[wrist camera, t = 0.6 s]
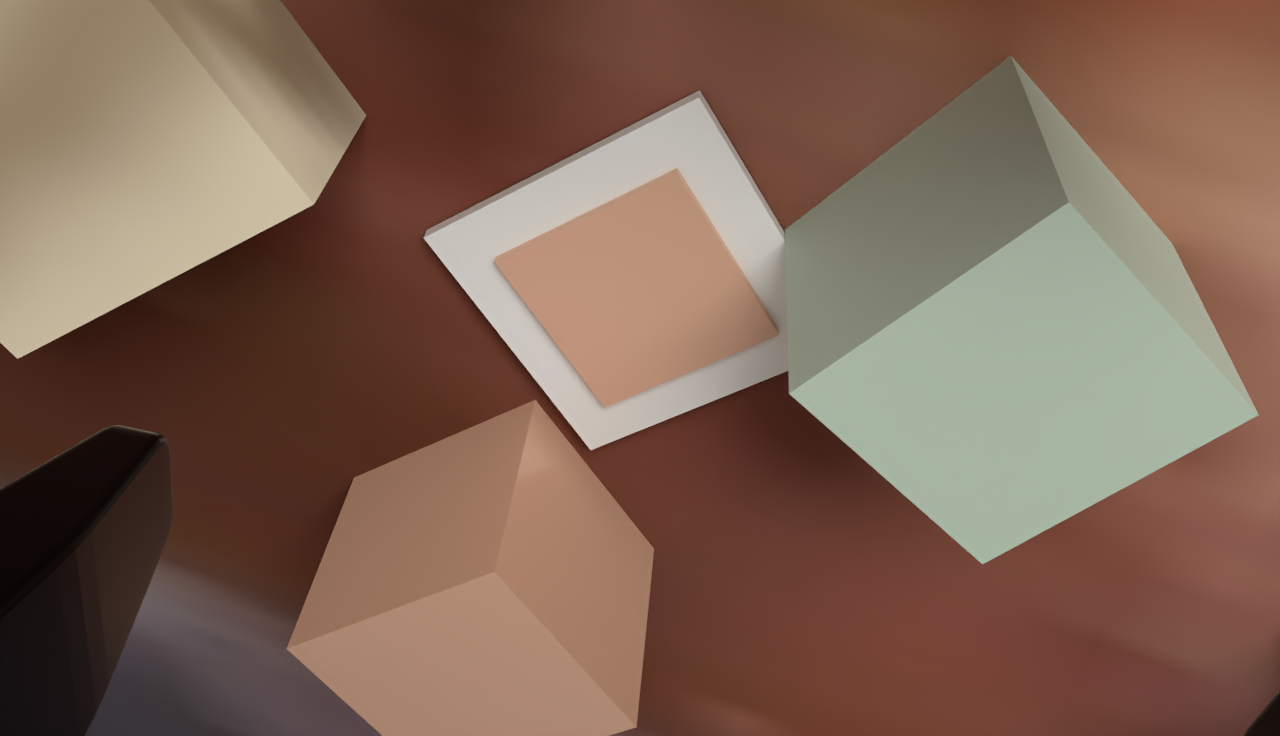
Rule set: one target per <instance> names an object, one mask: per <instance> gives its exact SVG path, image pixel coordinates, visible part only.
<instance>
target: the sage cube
mask: <svg viewBox="0 0 1280 736" xmlns="http://www.w3.org/2000/svg"><path fill="white" fill-rule="evenodd" d="M785 256H786V296H787V336H788V376H789V394H790V395H791V396H792V397H793V398H794V399H796V400H797V401H798V402H799V403H800V404H801V405H802V406H804V407H805V408H806V409H807V410H808V411H809V412H810V413H811V414H813V415H814V416H815V417H816V418H817V419H818V420H819V421H821V422H822V423H823V424H824V425H825V426H826V427H827V428H828V429H830V430H831V431H832V432H833V433H834V434H835V435H836V436H838V437H839V438H840V439H841V440H842V441H843V442H844V443H846V444H847V445H848V446H849V447H850V448H851V449H852V450H853V451H855V452H856V453H857V454H858V455H859V456H860V457H861V458H863V459H864V460H865V461H866V462H867V463H868V464H869V465H870V466H872V467H873V468H874V469H875V470H876V471H877V472H878V473H880V474H881V475H882V476H883V477H884V478H885V479H886V480H887V481H889V482H890V483H891V484H892V485H893V486H894V487H895V488H897V489H898V490H899V491H900V492H901V493H902V494H903V495H905V496H906V497H907V498H908V499H909V500H910V501H911V502H912V503H914V504H915V505H916V506H917V507H918V508H919V509H920V510H922V511H923V512H924V513H925V514H926V515H927V516H928V517H929V518H931V519H932V520H933V521H934V522H935V523H936V524H937V525H939V526H940V527H941V528H942V529H943V530H944V531H945V532H946V533H948V534H949V535H950V536H951V537H952V538H953V539H954V540H956V541H957V542H958V543H959V544H960V545H961V546H962V547H964V548H965V549H966V550H967V551H968V552H969V553H970V554H971V555H973V556H974V557H975V558H976V559H977V560H978V561H979V562H981V563H982V564H984V563H986V562H988V561H990V560H991V559H993V558H995V557H997V556H999V555H1001V554H1003V553H1004V552H1006V551H1008V550H1010V549H1012V548H1014V547H1016V546H1017V545H1019V544H1021V543H1023V542H1025V541H1027V540H1028V539H1030V538H1032V537H1034V536H1036V535H1038V534H1040V533H1041V532H1043V531H1045V530H1047V529H1049V528H1051V527H1053V526H1054V525H1056V524H1058V523H1060V522H1062V521H1064V520H1065V519H1067V518H1069V517H1071V516H1073V515H1075V514H1077V513H1078V512H1080V511H1082V510H1084V509H1086V508H1088V507H1090V506H1091V505H1093V504H1095V503H1097V502H1099V501H1101V500H1102V499H1104V498H1106V497H1108V496H1110V495H1112V494H1114V493H1115V492H1117V491H1119V490H1121V489H1123V488H1125V487H1127V486H1128V485H1130V484H1132V483H1134V482H1136V481H1138V480H1139V479H1141V478H1143V477H1145V476H1147V475H1149V474H1151V473H1152V472H1154V471H1156V470H1158V469H1160V468H1162V467H1164V466H1165V465H1167V464H1169V463H1171V462H1173V461H1175V460H1176V459H1178V458H1180V457H1182V456H1184V455H1186V454H1188V453H1189V452H1191V451H1193V450H1195V449H1197V448H1199V447H1201V446H1202V445H1204V444H1206V443H1208V442H1210V441H1212V440H1213V439H1215V438H1217V437H1219V436H1221V435H1223V434H1225V433H1226V432H1228V431H1230V430H1232V429H1234V428H1236V427H1238V426H1239V425H1241V424H1243V423H1245V422H1247V421H1249V420H1250V419H1252V418H1254V417H1256V416H1258V413H1257V411H1256V409H1255V407H1254V405H1253V403H1252V401H1251V399H1250V397H1249V395H1248V393H1247V391H1246V389H1245V387H1244V385H1243V383H1242V381H1241V379H1240V377H1239V375H1238V373H1237V371H1236V369H1235V367H1234V365H1233V363H1232V361H1231V359H1230V357H1229V355H1228V353H1227V351H1226V349H1225V347H1224V345H1223V343H1222V341H1221V339H1220V337H1219V335H1218V333H1217V331H1216V329H1215V327H1214V325H1213V323H1212V321H1211V319H1210V317H1209V316H1208V314H1207V312H1206V310H1205V308H1204V306H1203V304H1202V302H1201V300H1200V298H1199V296H1198V294H1197V292H1196V290H1195V288H1194V286H1193V284H1192V282H1191V280H1190V278H1189V276H1188V274H1187V272H1186V270H1185V268H1184V266H1183V264H1182V262H1181V260H1180V258H1179V256H1178V254H1177V252H1176V250H1175V248H1174V246H1173V244H1172V243H1171V242H1170V241H1169V239H1168V238H1167V237H1166V236H1165V235H1164V234H1163V232H1162V231H1161V230H1160V229H1159V228H1158V227H1157V225H1156V224H1155V223H1154V222H1153V221H1152V220H1151V218H1150V217H1149V216H1148V215H1147V214H1146V213H1145V211H1144V210H1143V209H1142V208H1141V207H1140V206H1139V204H1138V203H1137V202H1136V201H1135V200H1134V199H1133V197H1132V196H1131V195H1130V194H1129V193H1128V192H1127V190H1126V189H1125V188H1124V187H1123V186H1122V185H1121V183H1120V182H1119V181H1118V180H1117V179H1116V178H1115V176H1114V175H1113V174H1112V173H1111V172H1110V171H1109V169H1108V168H1107V167H1106V166H1105V165H1104V164H1103V162H1102V161H1101V160H1100V159H1099V158H1098V157H1097V155H1096V154H1095V153H1094V152H1093V151H1092V150H1091V148H1090V147H1089V146H1088V145H1087V144H1086V143H1085V141H1084V140H1083V139H1082V138H1081V137H1080V136H1079V134H1078V133H1077V132H1076V131H1075V130H1074V129H1073V127H1072V126H1071V125H1070V124H1069V123H1068V122H1067V120H1066V119H1065V118H1064V117H1063V116H1062V115H1061V113H1060V112H1059V111H1058V110H1057V109H1056V108H1055V106H1054V105H1053V104H1052V103H1051V102H1050V101H1049V99H1048V98H1047V97H1046V96H1045V95H1044V94H1043V92H1042V91H1041V90H1040V89H1039V88H1038V87H1037V85H1036V84H1035V83H1034V82H1033V81H1032V80H1031V78H1030V77H1029V76H1028V75H1027V74H1026V73H1025V71H1024V70H1023V69H1022V68H1021V67H1020V66H1019V64H1018V63H1017V62H1016V61H1015V60H1014V59H1013V57H1012V56H1009V57H1008V58H1007V59H1005V60H1004V61H1003V62H1002V63H1000V64H999V65H998V66H996V67H995V68H994V69H993V70H991V71H990V72H989V73H987V74H986V75H985V76H983V77H982V78H981V79H980V80H978V81H977V82H976V83H974V84H973V85H972V86H970V87H969V88H968V89H967V90H965V91H964V92H963V93H961V94H960V95H959V96H958V97H956V98H955V99H954V100H952V101H951V102H950V103H948V104H947V105H946V106H945V107H943V108H942V109H941V110H939V111H938V112H937V113H936V114H934V115H933V116H932V117H930V118H929V119H928V120H926V121H925V122H924V123H923V124H921V125H920V126H919V127H917V128H916V129H915V130H913V131H912V132H911V133H910V134H908V135H907V136H906V137H904V138H903V139H902V140H901V141H899V142H898V143H897V144H895V145H894V146H893V147H891V148H890V149H889V150H888V151H886V152H885V153H884V154H882V155H881V156H880V157H879V158H877V159H876V160H875V161H873V162H872V163H871V164H869V165H868V166H867V167H866V168H864V169H863V170H862V171H860V172H859V173H858V174H857V175H855V176H854V177H853V178H851V179H850V180H849V181H847V182H846V183H845V184H844V185H842V186H841V187H840V188H838V189H837V190H836V191H834V192H833V193H832V194H831V195H829V196H828V197H827V198H825V199H824V200H823V201H822V202H820V203H819V204H818V205H816V206H815V207H814V208H812V209H811V210H810V211H809V212H807V213H806V214H805V215H803V216H802V217H801V218H800V219H798V220H797V221H796V222H794V223H793V224H792V225H790V226H789V227H788V228H787V229H785Z"/></svg>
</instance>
